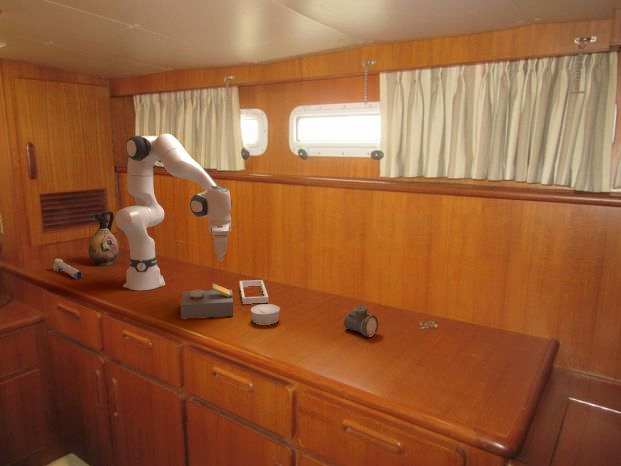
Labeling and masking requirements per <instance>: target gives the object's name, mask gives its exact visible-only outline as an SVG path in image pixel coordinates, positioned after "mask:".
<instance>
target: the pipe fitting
mask: <svg viewBox="0 0 621 466" xmlns="http://www.w3.org/2000/svg"><path fill="white" fill-rule="evenodd" d="M343 327H344V329H346V328H347V329H346V330H348V329H350V330H349V331H352V330H353V332H356V331H357V333H361V334H362V335H363V336H364V337H365V336H367V337H366V338H369V335H371V334H373V333H374V332H377V333H378V329H379V320H378V317H377V316H376V315H373V314H368V307H367V306H365V305H362V306H360V305H359V306H356V307H354V308H353V310H351V311H349V312H348V314H346V315H345V316H344V319H343Z"/></svg>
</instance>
